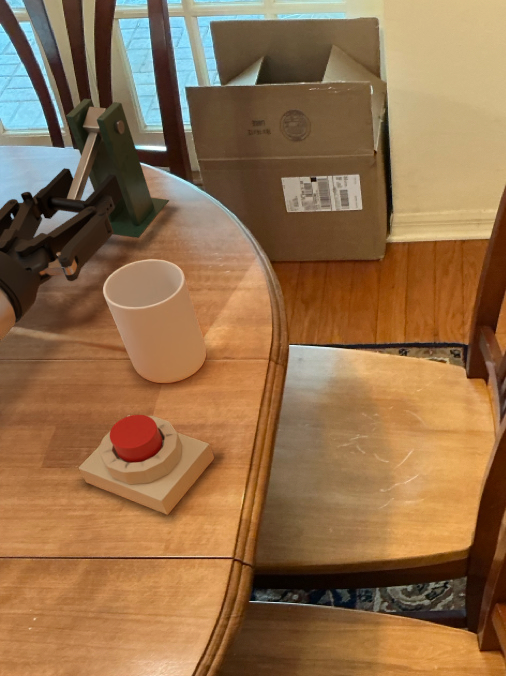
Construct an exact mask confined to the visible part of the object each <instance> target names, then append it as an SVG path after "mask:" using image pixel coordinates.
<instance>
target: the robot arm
mask: <svg viewBox="0 0 506 676" xmlns="http://www.w3.org/2000/svg"><path fill="white" fill-rule="evenodd" d="M73 179H74V176H73V174H72V172H71V169H70V168H65V167H64V168H63V169H61V170H60V171H59V173H57V174H56V176H54V178H53V179H51V181H49V182H48V184H47V185H45V186H44V187H42V188H41V189H39V191H38V192H36V194H35V195H33V194H32V193H31V192H30V191H24V192H22V193H21V194H20V196H21V199H22V202H19V201H18V200H17V199H16V198H11V199H9V200H8V201H6V203H4V204H3V206H2V207H0V342H1V341H2V340H3V339H4V337H5V336H6V335H7V334H8V333H9V332H10V330H12V328H13V327H14V326H15V325H16V324H17V323H18V322H19V321H20V320H21V319H22V318H23V317H24V316H25V314H26V313H28V311H29V310H30V309H31V308H32V306H34V305H35V303H36V301H37V296H38V291H39V287H40V286H41V285H43V284H44V283H46V282H48V281H49V280H51V279H52V278H53V276H65V278H66V280H67V281H68V282H75V281H77V280H78V278H79V275H80V273H81V270H82V268H83V267H84V266H85V265H86V264H87V263H88V262H89V261H90V260H91V259H92V257H93V256H94V255H95V254H96V253H97V252H98V251H99V250H100V249H101V248H102V247H103V246H104V244H106V242H107V241H108V240H109V239H110V238H111V237H112V236H114V234H113V233H114V232H113V229H112V226H111V224H110V221H109V218H108V216H109V215H110V214H111V213H112V211H113V210H114V208H115V204H116V203H117V202H118V201H119V200H120V199H121V198H122V197H123V195H122V192H121V189H120V187H119V184H118V181H117V178H116V175H113V174H110V175H109V176H108V177H107V178H106V179H105V180H104V181H103V182H102V183H101V184H100V185H99V186H98V187H97V189H96V190H95V191H94V190H93V192H92V193H90V194H89V196H88V197H87V198H86V199H85V200H83V201H84V202H83V206H84V208H85V209H84V210H82V211H81V212H79V213H76V214H75V215H73V216H72V217H70V218H68V219H67V220H66V221H65V222H63V223H61V224H59V226H57V227H56V228H54V229H52V230H51V231H49V232H48V233H44V232H41V233H38V234H37V232H38V229H39V227H40V225H41V223H42V221H43V217H44V219H47V220H51V219H52V218H53V217H54V216H55V215H56V214H57V213H58V212H59V210H54V209H50V208H49V206H48V203H47V201H48V198H49V197H50V196H54V197H61V198H67V197H68V194H69V191H70V188H71V185H72V182H73ZM42 216H43V217H42ZM36 234H37V235H36Z"/></svg>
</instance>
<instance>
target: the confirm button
mask: <svg viewBox="0 0 506 676" xmlns="http://www.w3.org/2000/svg"><path fill="white" fill-rule="evenodd" d="M130 415H131V414H130ZM127 416H128V415H127ZM127 416H125V417H122V418H121V419H119V420H118V421H117V422H115V423H114V425H112V427H111V428H110V430H111V431H110V430H109V431H110V440H111V442H112V444H113V446H114V448H115V450H116V452H117V454H118V456H119V457H120V458H121V459H122V460H124V461H127V462H131V463H134V462H143V461H145V460H147V459H150V458H152V457H154V456H155V455H156V454H157V453H158V452H159V451H160V449H161V447H162V442H163V441H162V437H161V435H160V432H159V430H158V427H157V425H156V423H155V421H154V420H153V419H152V418H150V417H148V416H149V415H145V414H132V415H131V416H128V417H127Z"/></svg>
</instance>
